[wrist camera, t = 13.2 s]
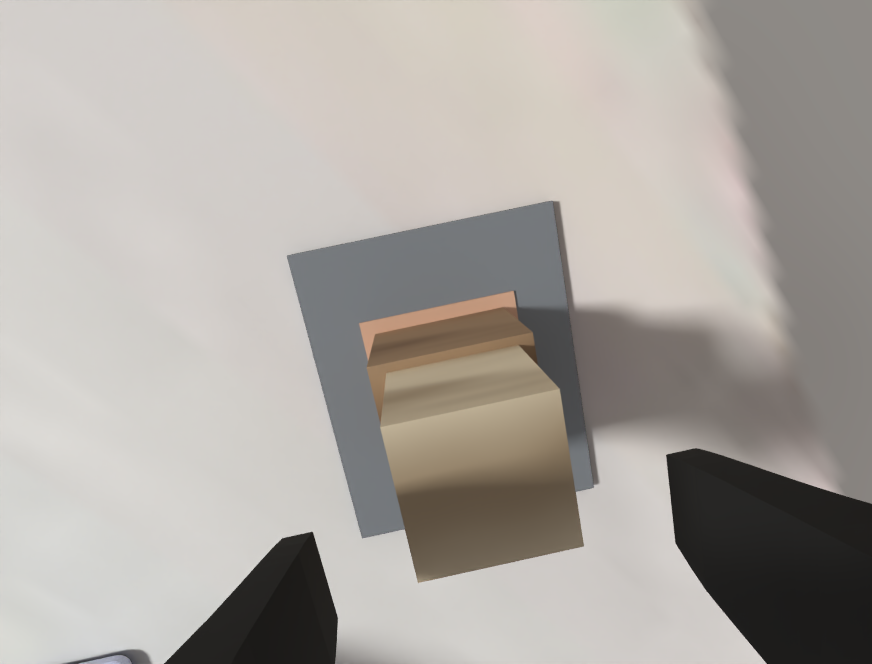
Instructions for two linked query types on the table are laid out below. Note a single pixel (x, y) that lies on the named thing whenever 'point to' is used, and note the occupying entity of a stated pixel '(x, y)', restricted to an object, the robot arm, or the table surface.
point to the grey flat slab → (423, 303)
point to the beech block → (479, 462)
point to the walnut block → (444, 344)
